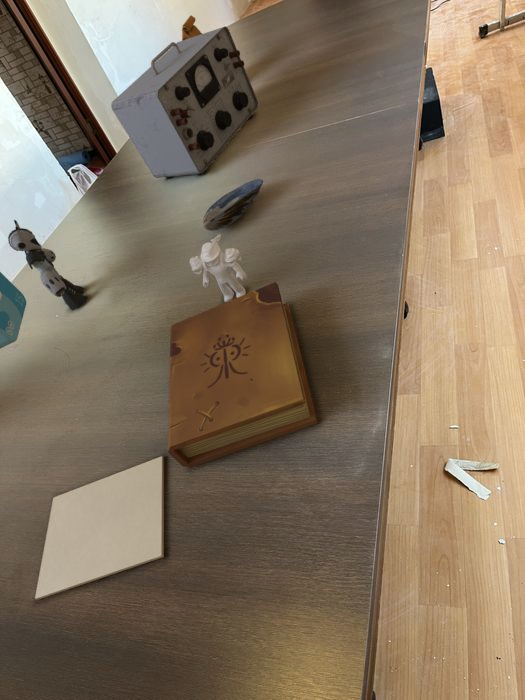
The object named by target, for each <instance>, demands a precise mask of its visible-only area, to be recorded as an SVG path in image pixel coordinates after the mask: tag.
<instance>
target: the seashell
mask: <svg viewBox="0 0 525 700" xmlns="http://www.w3.org/2000/svg"><path fill="white" fill-rule="evenodd" d="M263 183H264V180H263V179H262V178H255V179H253V180H250V181H248V182H245V183H243V184H241V185H240V186H238V187H236V188H234V189H232V190H231V191H229V192H227V193H225V194H224V195H222V196H221V197H220V198H219V199H217V200H216V201H215V202H214V203H213V204H211V205H210V206H209V207H208V209H207V210H206V212H205V214H204V216H203V218H202V222H201V223H202V227H203V228H204V229H205V230H207V231H211V232H213V231H220V230H222V229H226V228H228V227H229V226H231V225H232V224H234V223H235V222H236V221H237V220H239V219H240V218H241V217H242V216H244V215H245V213H246V212H247V210H248V209H249V208H250V207H251V205H252V204H253V202H254V200H255V199H256V197H257V196H258V195H259V193H260V191H261V188H262V186H263Z"/></svg>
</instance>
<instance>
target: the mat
mask: <svg viewBox="0 0 525 700" xmlns="http://www.w3.org/2000/svg"><path fill="white" fill-rule="evenodd" d="M164 527H165V457H164V456H163V455H161V456H159V457H155V458H153V459H150V460H149V461H146V462H145V461H144V462H143V463H140V464H137V465H134V466H133V467H130V468H127V469H124V470H122V471H119V472H117V473H114V474H112V475H109V476H106V477H103V478H100V479H98V480H96V481H93V482H90V483H87V484H85V485H83V486H80V487H78V488H75V489H71V490H69V491H67V492H64V493H62V494H59V495H56V496H53V497H52V503H51V510H50V514H49V519H48V525H47V530H46V535H45V542H44V547H43V553H42V556H41V557H42V558H41V564H40V568H39V575H38V579H37V584H36V589H35V590H36V591H35V595H34V599H35V600H37V601H39V600H41V599H44V598H47V597H50V596H51V597H52V596H53V595H56V594H59V593H63V592H65V591H69V590H71V589H74V588H77V587H80V586H83V585H86V584H88V583H92V582H94V581H98V580H100V579H102V578H106V577H109V576H112V575H115V574H118V573H121V572H124V571H127V570H130V569H133V568H136V567H139V566H141V565H144V564H147V563H150V562H153V561H156V560H159V559H163V558H164V556H165V555H164V554H165V553H164V550H165V547H164V546H165V545H164V544H165V543H164V542H165V541H164V540H165V539H164V538H165V537H164V535H165V534H164V533H165V529H164Z"/></svg>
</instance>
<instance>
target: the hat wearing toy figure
mask: <svg viewBox="0 0 525 700" xmlns="http://www.w3.org/2000/svg"><path fill="white" fill-rule="evenodd" d="M221 235H222V234H221V233H218V234H217V236H215V237H214V238H212V239H210V242H205V243H204V244H202V246H201V250H200V252H201V253H200V255H199V256H197V255H195V256H192V257H191V258H190V259H189V265H190V267H191V271H192V272H191V273H194V274H196V275H201V274H202V273H203V274H202V285H203V288H204V289H207V288H208V287H209V284H210V274H211V275H213V276H214V277H215V280H216V283H217V285H218V287H219V289H220V291H221V293H222V294H223V301H224V303H226V302H228V301H230V300H233V299H234V296H235V297H236V298H238V297H240V296H243V295H245V294H247V290H246V289H245V287H244V286H243V285H241V284H240V283H239V282H238V279H240V280H241V282H242V283H244V282H245V281H246V280H247V273H246V272H245V271H244V270H243V269H242V267H241V265H240V264H239V263H238V262H236V261H239V262H240V261H242V256H241V254H240V251H239V249H237V248H235V247H232V246H231V248H226V249H225V250H224V252H222V250H221V247H220V245H218V244H219V243H218V242H219V241H221V240H222V239H221V238H222V236H221ZM238 257H239V258H238ZM202 268H203V269H202ZM232 269H233V271H235V272H236V273H235V274H234V273H233V272H232ZM198 270H199V271H198ZM202 270H203V271H202ZM196 271H197V272H196ZM228 284H229V286H230V287H231V288H230V287H229V286H228Z"/></svg>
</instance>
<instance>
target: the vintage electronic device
mask: <svg viewBox="0 0 525 700" xmlns="http://www.w3.org/2000/svg"><path fill="white" fill-rule="evenodd" d="M244 66H245V61H244V60H242V58H241V52H240V50H239V49H237V47H236V44H235V42H234V39H233V36H232V34H231V31H230V29H229V28H228V27H227V26H222V27H219V28H215V29H213V30H209V31H207V32H203V33H202V34H201V35H198V36H195V37H192V38H189V39H186V40H183V41H182V40H180V41H177V42H174V41H172V42H170V43H169V44H168V45H167V46H166V47H164V48H163V49H162V50H161V51H160V52H159V53H158V54H157V55H156V56H155V57H154V58H152V59H151V61H150V66H149V68H147V70H145V71H144V72H143V73H142V74H141V75H140V76H139V77H137V78H136V80H134V81H133V82H132V83H131V84H130V85H129V86H128V87H127V88H126V89H125V90H124V91H122V92H121V93H119V95H118V96H117V97H116V98H115V99H114V100H113V101H112V102H111V109H112V112H113V113H114V115H115V117H116V118H117V120H118V121H119V123H120V125H121V126H122V128H123V129H124V132H125V133H126V134H127V136H128V138H129V139H130V141H131V143H132V144H133V145H134V147H135V149H136V151H137V152H138V154H139V155H140V157H141V158H142V160H143V161H144V163H145V165H146V166H147V169H148V170H149V172H150V173H151V175H152V176H153V177H154V178H156V179H160V178H161V179H162V178H166V179H167V180H170V179H172V178H173V177H179V176H189V175H198V176H201V177H202V176H204V175H205V174H206V173H207V169H208V167H209V166H211V164H212V163H213V162H214V161H215V159H216V158H217V157H218V156H219V154H220V153H221V152H222V151H223V150H224V148H225V147H226V146H227V145H228V144H229V143H230V141H231V140H232V139H233V138H234V136H235V135H236V134H237V133H238V132H239V130H241V128H242V127H243V126H244V124H246V122H247V121H249V120H251V119H252V118H253V116H254V115H253V114H254V113H255V112H256V110H257V109H258V107H259V101H258V98H257V96H256V93H255V91H254V87H253V86H252V83H251V81H250V78H249V75H248V74H247V71H246V68H245V67H244Z"/></svg>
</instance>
